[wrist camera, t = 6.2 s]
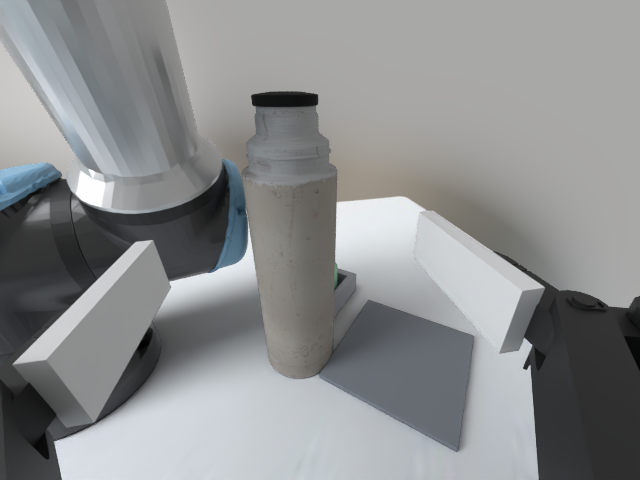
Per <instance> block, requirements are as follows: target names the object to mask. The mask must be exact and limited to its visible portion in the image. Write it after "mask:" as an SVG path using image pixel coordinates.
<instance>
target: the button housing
mask: <svg viewBox="0 0 640 480" xmlns="http://www.w3.org/2000/svg"><path fill="white" fill-rule="evenodd" d="M337 286H338V287H337V289H336V290H335V291H334V317H335V316H336V315H337V313H338V312H339V311H340V310H341V308H342V307H343V306H344V304H345V303H346V302H347V300H348V299H349V298H350V296H351V295H352V294H353V292H354V291H355V290H356V274H354V273H351V272H347V271H344V270H341V269H338V268H337ZM333 319H334V318H333Z"/></svg>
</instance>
